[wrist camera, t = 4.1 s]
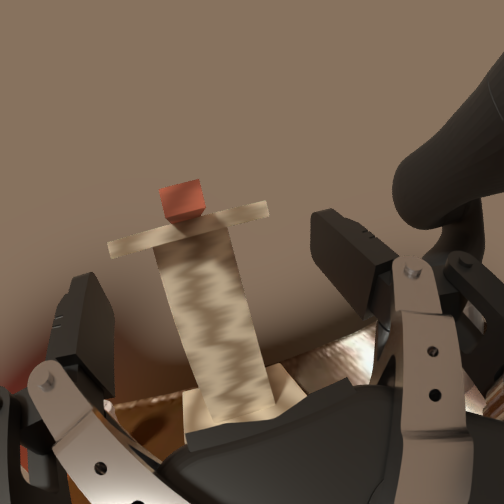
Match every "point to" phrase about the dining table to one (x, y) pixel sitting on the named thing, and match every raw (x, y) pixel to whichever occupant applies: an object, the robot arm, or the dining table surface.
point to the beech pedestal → (215, 320)
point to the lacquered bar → (182, 201)
